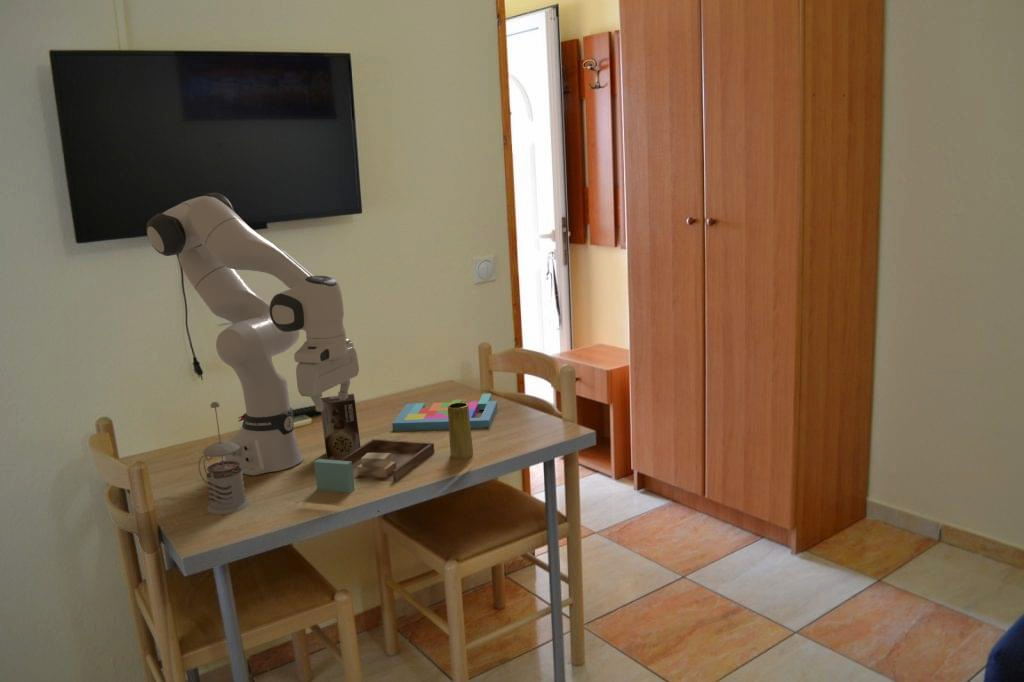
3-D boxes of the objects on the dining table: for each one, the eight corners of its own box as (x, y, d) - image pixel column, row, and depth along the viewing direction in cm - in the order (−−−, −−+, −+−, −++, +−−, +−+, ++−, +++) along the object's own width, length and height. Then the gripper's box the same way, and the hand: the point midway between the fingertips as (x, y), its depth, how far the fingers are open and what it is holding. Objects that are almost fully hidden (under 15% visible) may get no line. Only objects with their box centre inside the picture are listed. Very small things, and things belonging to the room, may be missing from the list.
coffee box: (360, 450, 232) (354, 393, 229) (361, 458, 226) (355, 399, 223) (326, 455, 231) (319, 397, 227) (326, 463, 224) (319, 403, 221)
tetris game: (489, 429, 245) (500, 401, 272) (489, 420, 245) (500, 393, 272) (393, 432, 248) (413, 404, 276) (392, 423, 248) (412, 396, 275)
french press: (231, 516, 194) (216, 409, 188) (191, 510, 198) (175, 406, 193) (259, 499, 202) (246, 396, 197) (221, 494, 207) (207, 394, 202)
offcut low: (358, 475, 211) (357, 466, 211) (368, 467, 216) (367, 459, 215) (386, 477, 208) (385, 469, 208) (396, 470, 213) (395, 461, 213)
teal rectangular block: (317, 491, 204) (313, 461, 202) (322, 488, 206) (318, 458, 204) (350, 495, 201) (347, 464, 199) (354, 491, 202) (351, 461, 201)
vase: (452, 464, 218) (447, 409, 215) (448, 456, 224) (444, 403, 221) (476, 460, 219) (472, 406, 216) (471, 453, 225) (467, 400, 222)
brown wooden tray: (331, 479, 212) (329, 466, 211) (374, 451, 231) (373, 438, 230) (396, 485, 206) (394, 471, 205) (434, 455, 225) (433, 443, 224)
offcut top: (362, 466, 211) (361, 458, 210) (368, 461, 214) (367, 452, 214) (385, 467, 209) (384, 458, 209) (391, 461, 213) (390, 453, 212)
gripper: (340, 336, 209) (345, 391, 212) (289, 356, 190) (295, 416, 193) (362, 337, 206) (367, 393, 209) (313, 357, 188) (319, 418, 191)
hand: (332, 404), depth 201 cm, fingers open, 8 cm apart
